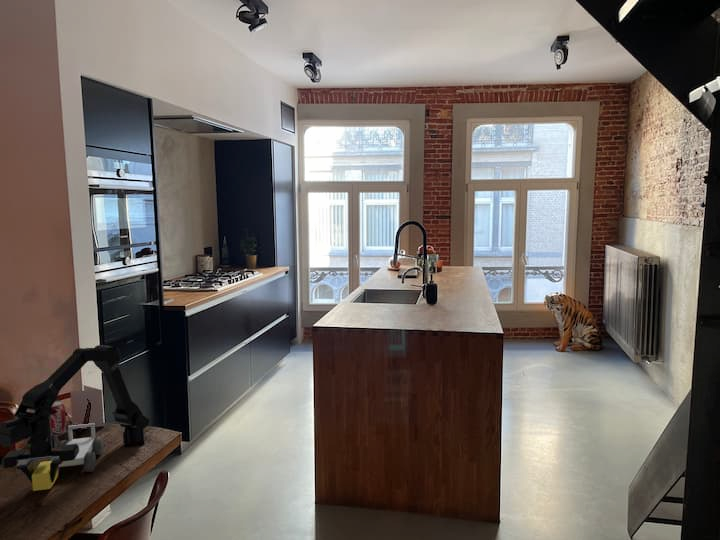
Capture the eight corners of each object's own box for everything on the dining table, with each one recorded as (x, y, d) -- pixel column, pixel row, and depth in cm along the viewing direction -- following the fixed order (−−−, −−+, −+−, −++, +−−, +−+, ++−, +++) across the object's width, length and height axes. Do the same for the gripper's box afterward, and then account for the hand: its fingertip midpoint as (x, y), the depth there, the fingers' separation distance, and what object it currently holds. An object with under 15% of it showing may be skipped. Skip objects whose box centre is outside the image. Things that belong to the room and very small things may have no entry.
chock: (58, 475, 158) (57, 460, 157) (50, 488, 150) (49, 472, 150) (42, 477, 157) (40, 462, 156) (32, 491, 149) (31, 474, 149)
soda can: (70, 430, 194) (68, 400, 193) (58, 438, 187) (56, 407, 186) (53, 430, 195) (51, 399, 194) (40, 438, 188) (38, 406, 187)
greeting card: (106, 426, 198) (103, 389, 197) (87, 433, 192) (85, 395, 190) (87, 421, 204) (85, 384, 202) (69, 427, 197) (67, 390, 196)
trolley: (64, 454, 175) (62, 425, 174) (103, 449, 178) (102, 421, 177) (47, 480, 158) (45, 448, 157) (91, 475, 161) (89, 443, 160)
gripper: (82, 418, 160) (85, 466, 162) (14, 425, 155) (18, 474, 157) (72, 433, 149) (75, 483, 151) (-1, 440, 145) (3, 493, 146)
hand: (43, 482), depth 152 cm, fingers closed on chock, 4 cm apart
